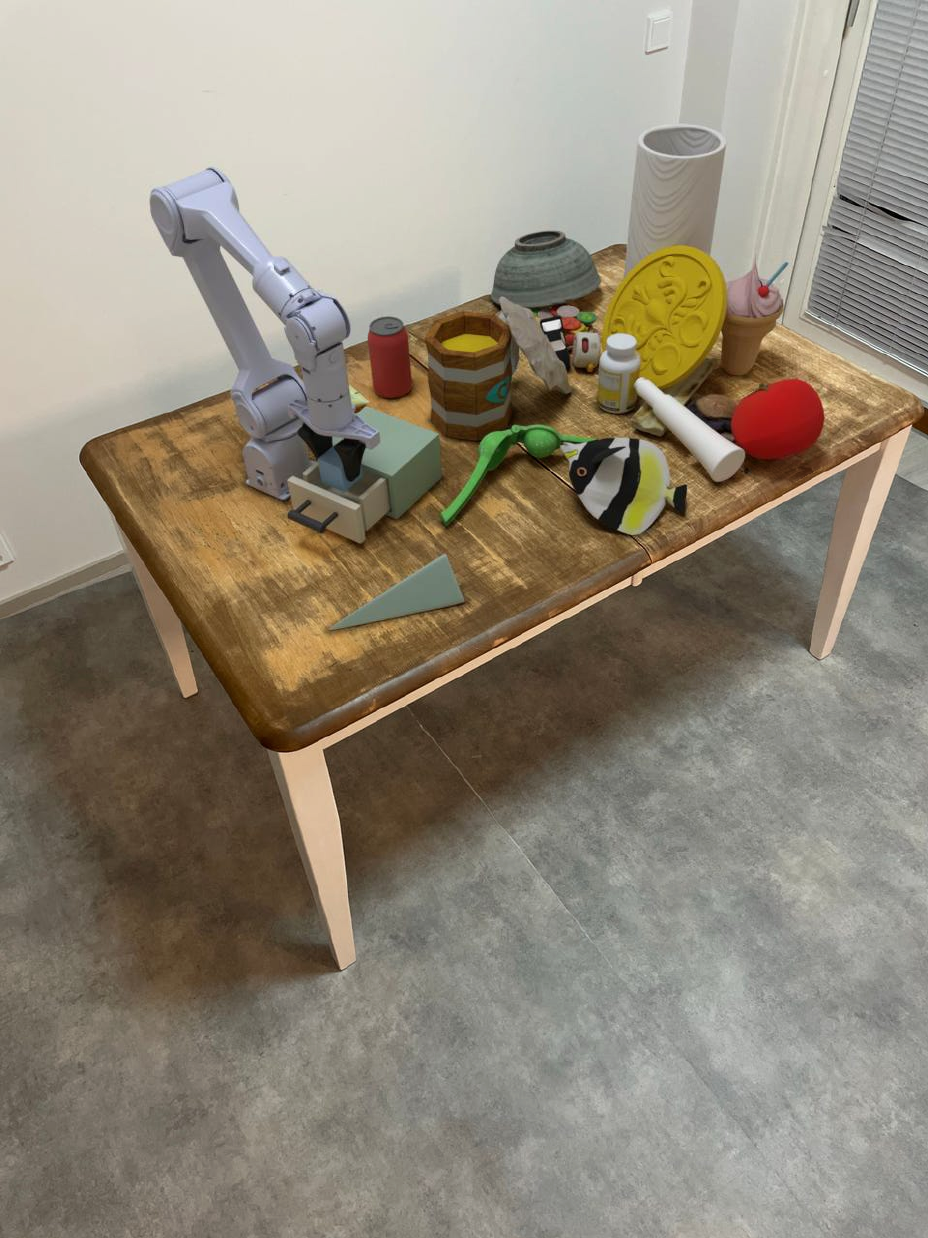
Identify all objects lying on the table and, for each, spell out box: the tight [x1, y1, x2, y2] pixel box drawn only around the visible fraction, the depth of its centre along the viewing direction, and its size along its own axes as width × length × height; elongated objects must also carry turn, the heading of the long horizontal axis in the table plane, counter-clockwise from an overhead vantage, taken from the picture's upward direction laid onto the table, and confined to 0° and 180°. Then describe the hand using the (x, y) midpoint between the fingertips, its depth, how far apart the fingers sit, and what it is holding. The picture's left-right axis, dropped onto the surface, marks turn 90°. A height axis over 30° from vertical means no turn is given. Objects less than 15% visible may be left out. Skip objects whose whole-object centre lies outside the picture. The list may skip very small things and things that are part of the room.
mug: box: [424, 310, 520, 442], centre depth 154 cm, size 20×14×15 cm
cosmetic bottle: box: [634, 377, 746, 483], centre depth 148 cm, size 6×6×22 cm
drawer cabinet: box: [332, 406, 443, 521], centre depth 144 cm, size 12×14×8 cm
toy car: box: [540, 316, 571, 371], centre depth 167 cm, size 10×4×3 cm
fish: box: [560, 437, 688, 536], centre depth 139 cm, size 12×20×15 cm
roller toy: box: [571, 332, 601, 373], centre depth 165 cm, size 4×6×6 cm
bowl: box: [490, 230, 602, 309], centre depth 180 cm, size 21×21×10 cm
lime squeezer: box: [439, 424, 598, 527], centre depth 145 cm, size 34×12×6 cm, turn 115°
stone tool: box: [499, 297, 573, 395], centre depth 152 cm, size 12×4×25 cm
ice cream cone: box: [720, 254, 789, 376], centre depth 158 cm, size 11×11×20 cm
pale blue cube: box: [318, 443, 363, 492], centre depth 136 cm, size 4×4×4 cm
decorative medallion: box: [601, 245, 727, 390], centre depth 157 cm, size 24×24×2 cm
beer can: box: [367, 315, 413, 399], centre depth 160 cm, size 7×7×12 cm
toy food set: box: [530, 302, 598, 351], centre depth 173 cm, size 13×13×3 cm
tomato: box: [731, 378, 825, 460], centre depth 145 cm, size 12×14×11 cm
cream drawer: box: [286, 461, 391, 544], centre depth 139 cm, size 15×12×6 cm
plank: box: [629, 357, 719, 437], centre depth 159 cm, size 23×6×3 cm, turn 149°
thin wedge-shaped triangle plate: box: [328, 553, 466, 631], centre depth 128 cm, size 8×6×18 cm
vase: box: [623, 123, 727, 279], centre depth 165 cm, size 14×14×32 cm
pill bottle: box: [596, 333, 641, 414], centre depth 155 cm, size 6×6×12 cm
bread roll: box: [685, 393, 738, 443], centre depth 154 cm, size 11×8×4 cm
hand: (340, 472), depth 137 cm, fingers closed on pale blue cube, 4 cm apart
